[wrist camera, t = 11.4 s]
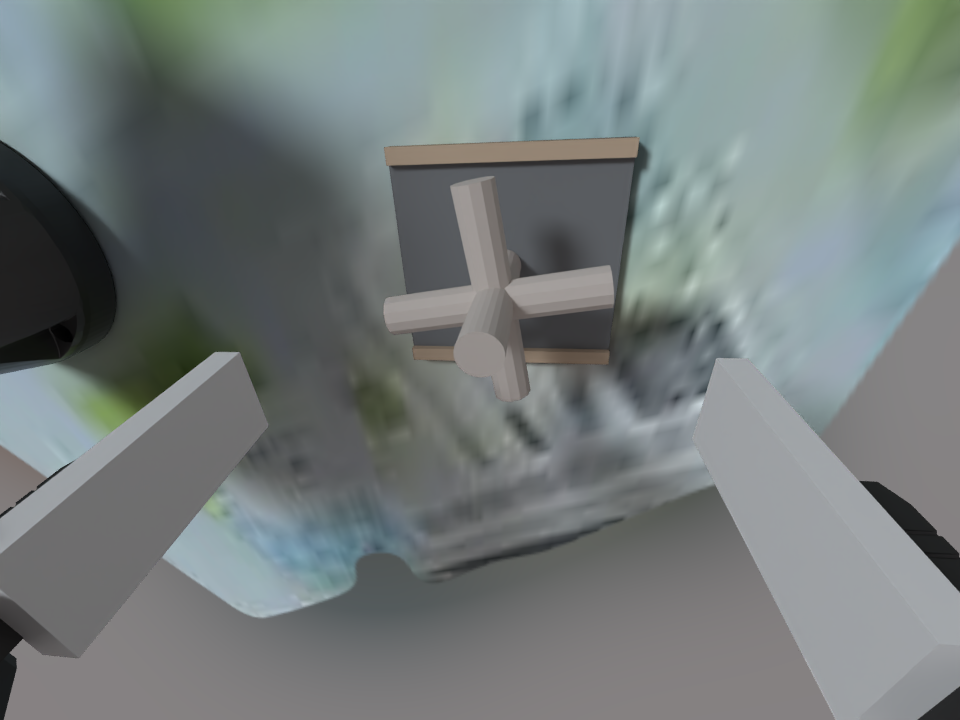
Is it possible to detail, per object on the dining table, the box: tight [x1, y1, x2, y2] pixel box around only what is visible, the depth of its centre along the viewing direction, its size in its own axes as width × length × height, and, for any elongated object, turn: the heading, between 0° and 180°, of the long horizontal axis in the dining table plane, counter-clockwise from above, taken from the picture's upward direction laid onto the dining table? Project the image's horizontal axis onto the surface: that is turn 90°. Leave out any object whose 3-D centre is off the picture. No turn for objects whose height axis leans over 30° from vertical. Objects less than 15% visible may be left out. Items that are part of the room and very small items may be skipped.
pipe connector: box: [383, 176, 614, 402], centre depth 18 cm, size 10×10×10 cm
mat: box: [384, 137, 640, 365], centre depth 23 cm, size 12×12×1 cm
